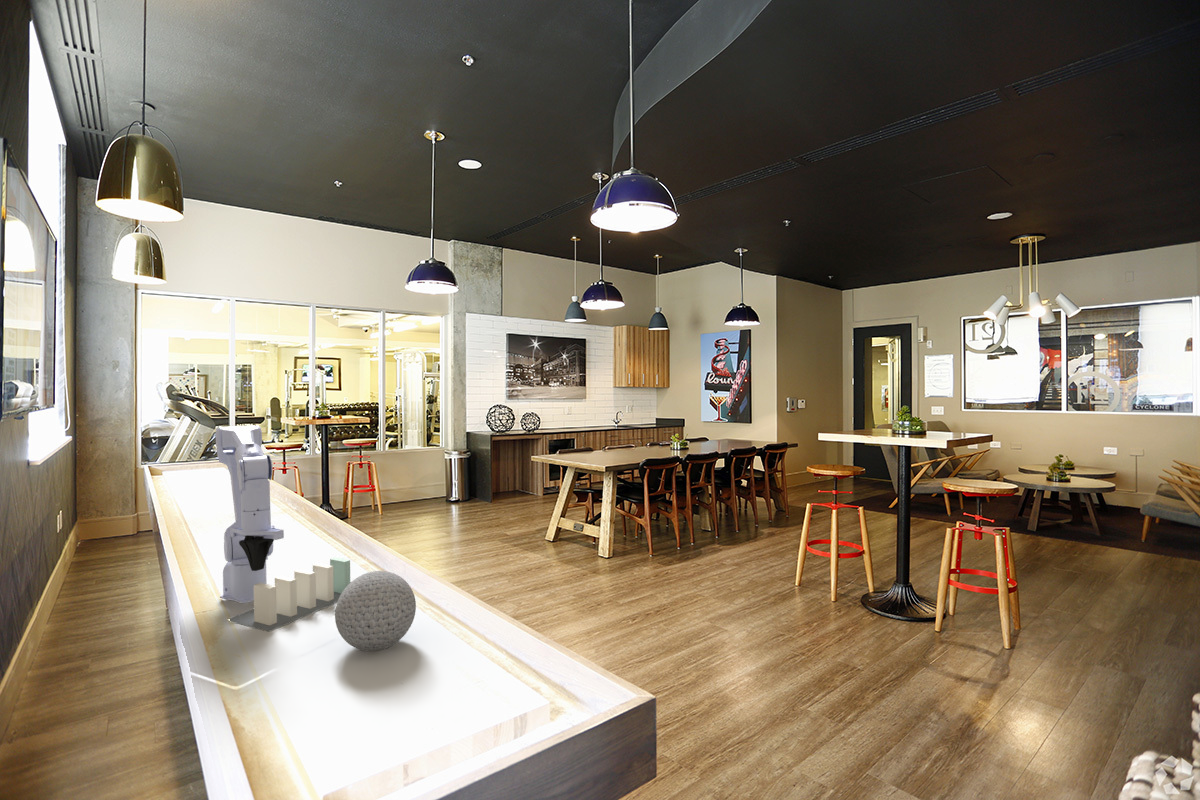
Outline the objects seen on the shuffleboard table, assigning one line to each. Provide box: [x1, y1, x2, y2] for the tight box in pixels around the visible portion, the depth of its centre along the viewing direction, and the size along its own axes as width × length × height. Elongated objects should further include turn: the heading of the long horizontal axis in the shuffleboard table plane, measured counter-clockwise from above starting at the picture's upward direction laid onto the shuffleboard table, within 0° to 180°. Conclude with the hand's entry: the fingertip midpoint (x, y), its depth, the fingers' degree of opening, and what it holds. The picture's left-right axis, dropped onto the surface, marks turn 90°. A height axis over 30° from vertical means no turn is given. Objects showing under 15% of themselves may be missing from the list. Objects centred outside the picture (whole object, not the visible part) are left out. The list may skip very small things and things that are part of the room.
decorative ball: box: [334, 570, 417, 652], centre depth 118 cm, size 15×15×15 cm
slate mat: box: [228, 581, 352, 633], centre depth 140 cm, size 14×29×1 cm, turn 156°
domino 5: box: [329, 556, 351, 593], centre depth 146 cm, size 2×5×8 cm, turn 66°
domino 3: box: [293, 568, 316, 609], centre depth 137 cm, size 2×5×8 cm, turn 66°
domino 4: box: [312, 562, 334, 601], centre depth 142 cm, size 2×5×8 cm, turn 66°
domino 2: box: [274, 575, 297, 617], centre depth 133 cm, size 2×5×8 cm, turn 66°
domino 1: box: [253, 583, 277, 625], centre depth 128 cm, size 2×5×8 cm, turn 66°
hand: (257, 569), depth 134 cm, fingers closed
